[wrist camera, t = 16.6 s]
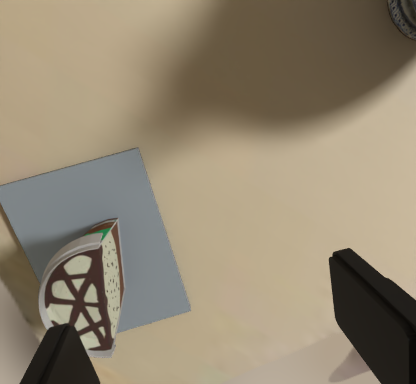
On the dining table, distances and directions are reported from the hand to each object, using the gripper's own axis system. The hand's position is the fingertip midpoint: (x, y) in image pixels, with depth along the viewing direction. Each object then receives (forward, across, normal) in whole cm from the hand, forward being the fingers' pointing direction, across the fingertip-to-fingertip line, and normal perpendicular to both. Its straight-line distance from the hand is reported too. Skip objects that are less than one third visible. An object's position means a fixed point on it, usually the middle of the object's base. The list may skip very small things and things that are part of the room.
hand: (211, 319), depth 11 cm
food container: (+25, +13, +8) cm, 29 cm away
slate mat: (+26, +12, +8) cm, 30 cm away
